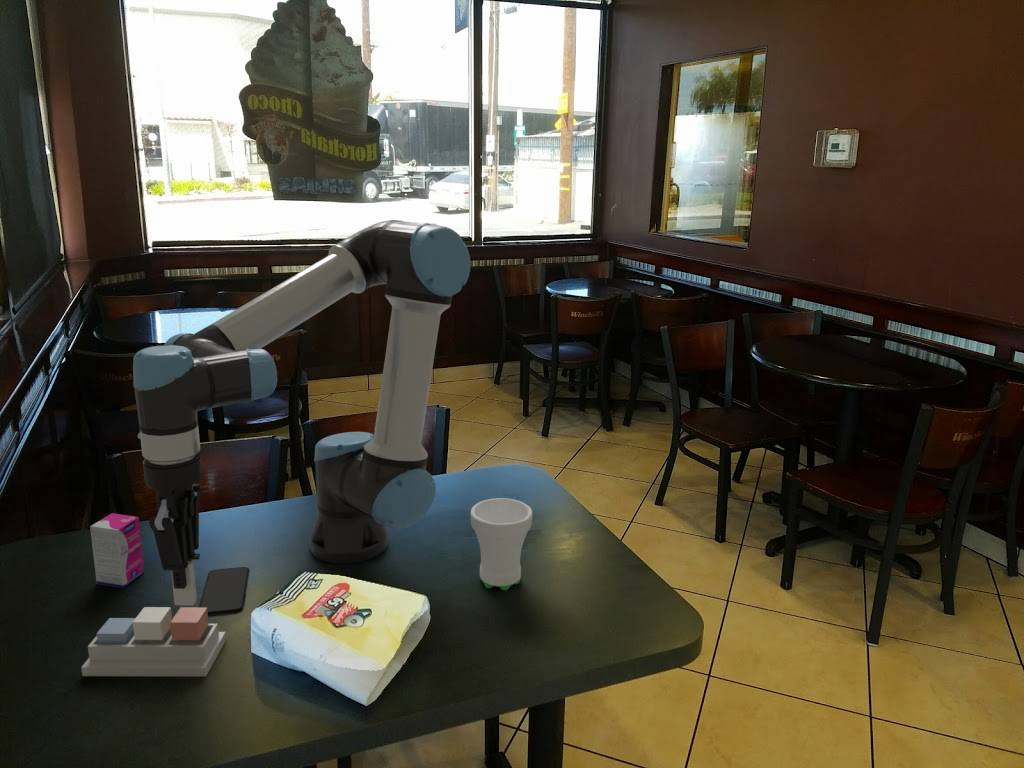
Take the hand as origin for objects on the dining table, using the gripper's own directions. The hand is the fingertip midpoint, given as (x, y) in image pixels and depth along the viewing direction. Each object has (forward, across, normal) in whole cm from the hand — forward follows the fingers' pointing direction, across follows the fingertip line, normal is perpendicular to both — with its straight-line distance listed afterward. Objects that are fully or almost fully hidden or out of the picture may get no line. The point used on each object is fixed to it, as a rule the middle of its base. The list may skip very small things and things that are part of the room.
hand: (185, 602), depth 114 cm
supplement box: (+10, -23, -21) cm, 33 cm away
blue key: (+7, 0, -11) cm, 13 cm away
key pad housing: (+10, 0, -5) cm, 11 cm away
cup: (+9, -23, +48) cm, 54 cm away
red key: (+5, 0, 0) cm, 5 cm away
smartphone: (+10, -19, -1) cm, 22 cm away
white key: (+5, 0, -5) cm, 7 cm away
